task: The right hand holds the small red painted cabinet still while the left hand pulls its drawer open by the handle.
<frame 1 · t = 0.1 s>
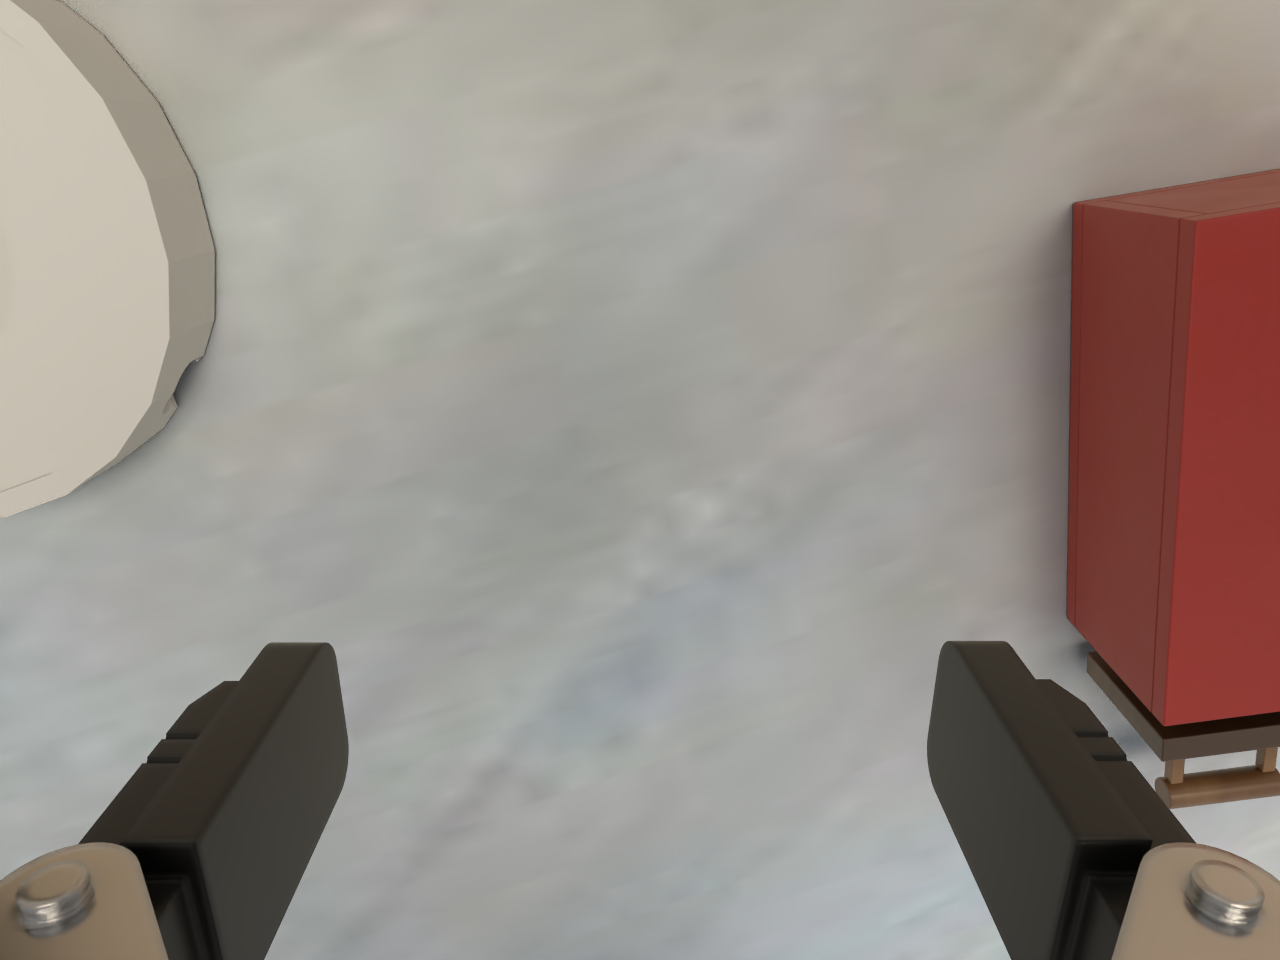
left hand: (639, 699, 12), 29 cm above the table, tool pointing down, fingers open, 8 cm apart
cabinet: (1185, 411, 41), on the table
drawer: (1235, 572, 39), point 4 cm above the table, slide at 1.5 cm
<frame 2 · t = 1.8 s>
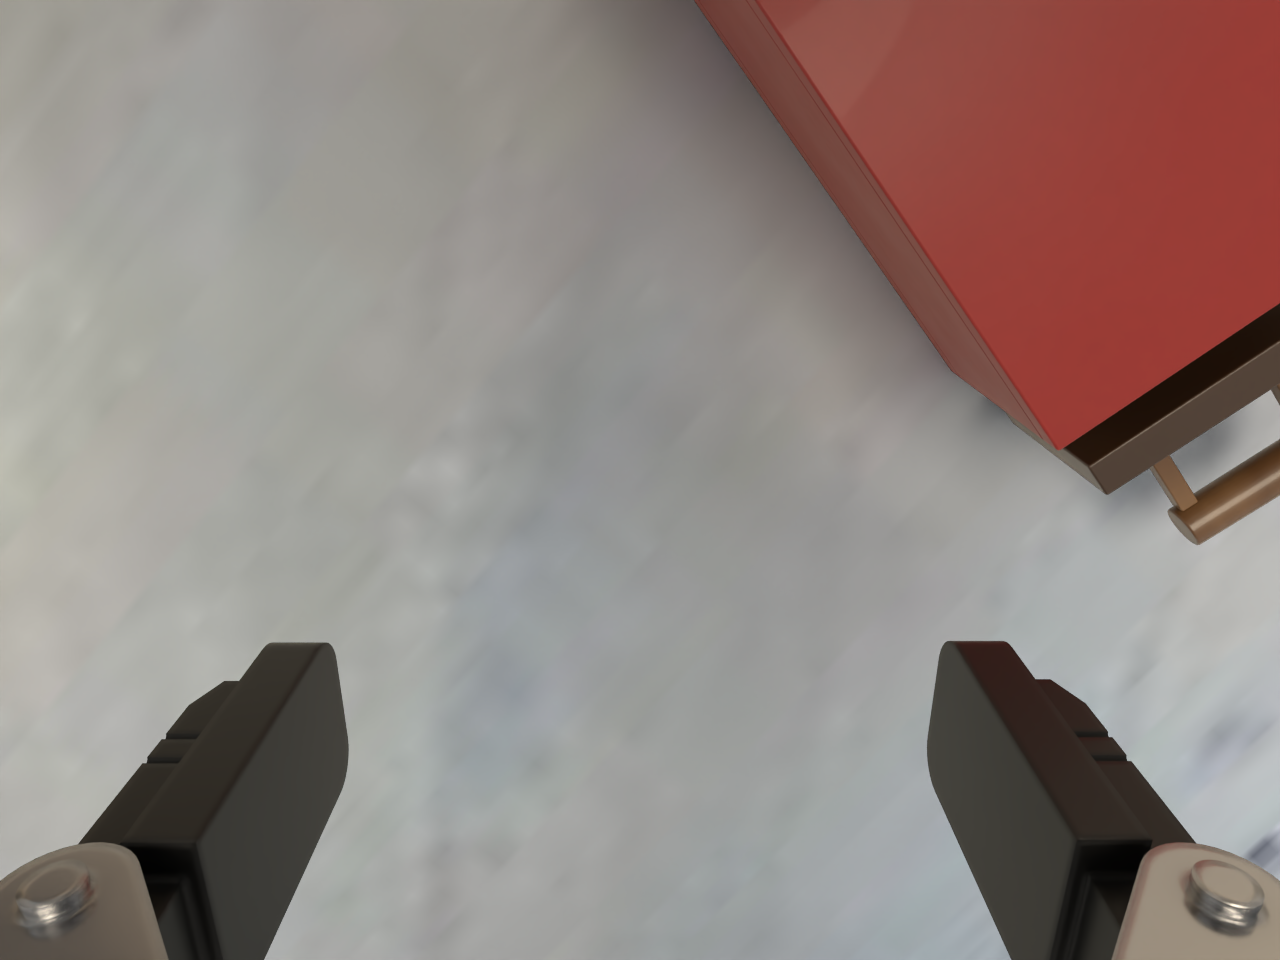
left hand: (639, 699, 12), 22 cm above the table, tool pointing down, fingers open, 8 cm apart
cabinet: (926, 32, 29), on the table
drawer: (1083, 196, 26), point 4 cm above the table, slide at 1.5 cm
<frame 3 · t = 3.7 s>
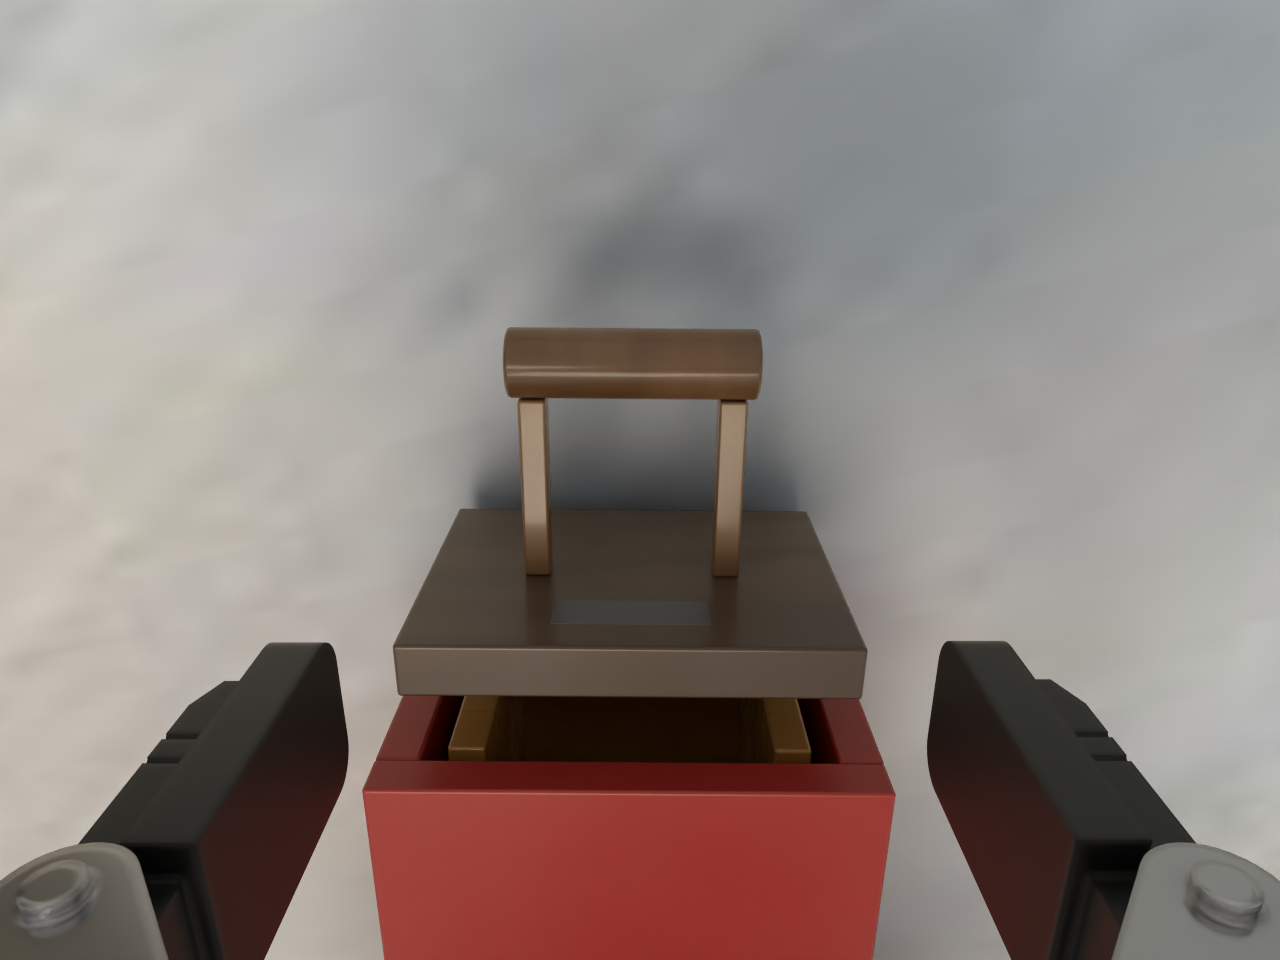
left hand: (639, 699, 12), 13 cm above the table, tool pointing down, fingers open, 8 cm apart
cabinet: (631, 853, 29), on the table, touching right hand
drawer: (630, 799, 23), point 4 cm above the table, slide at 1.5 cm
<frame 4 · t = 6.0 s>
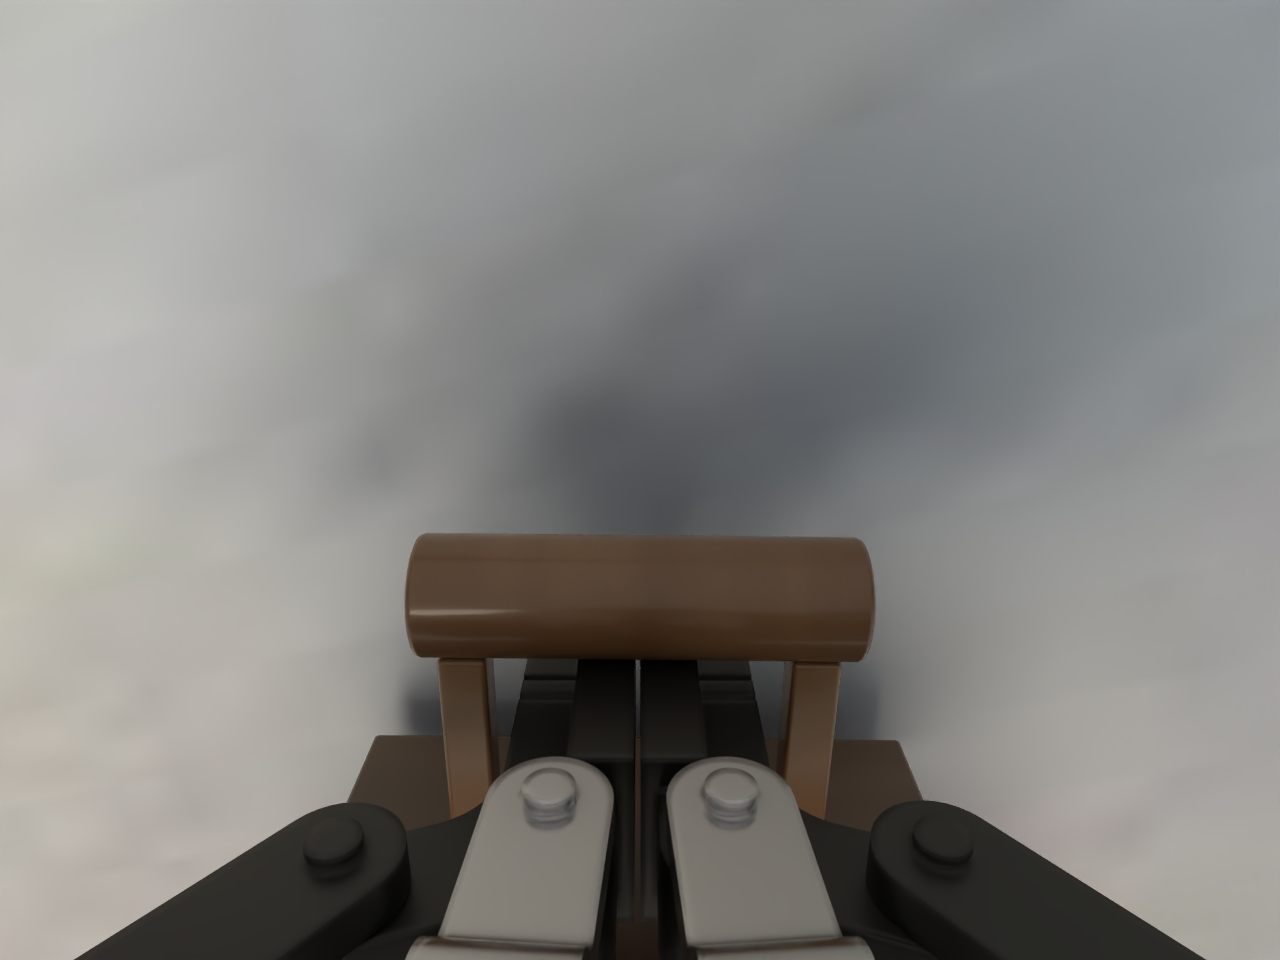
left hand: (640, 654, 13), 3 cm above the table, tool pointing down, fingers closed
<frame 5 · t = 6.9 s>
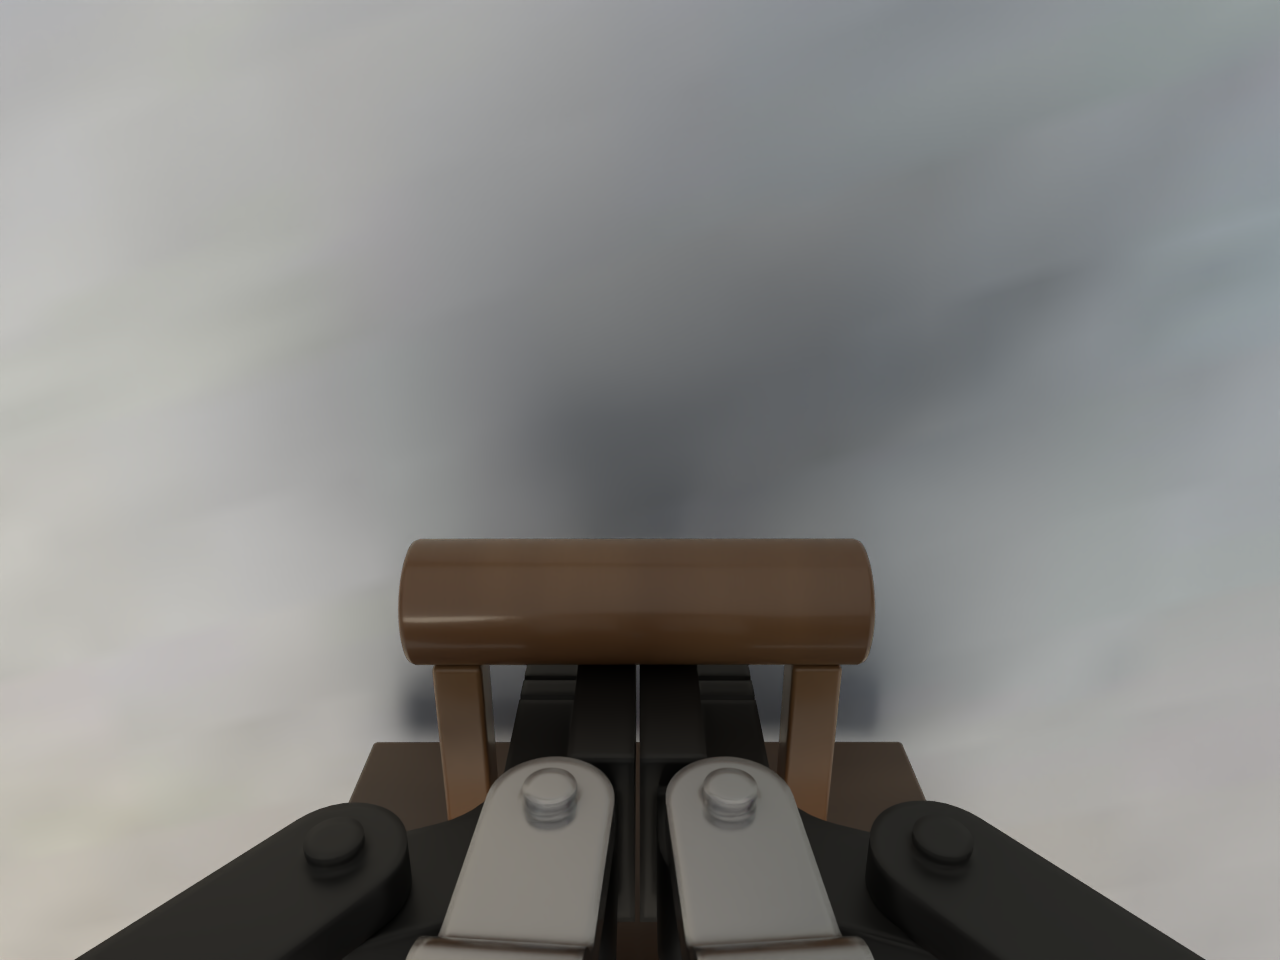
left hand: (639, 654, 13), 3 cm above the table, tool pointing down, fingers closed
when the right hand's fingers open (4 cm above the table, at t = 8.7 s): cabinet stays where it is, on the table.
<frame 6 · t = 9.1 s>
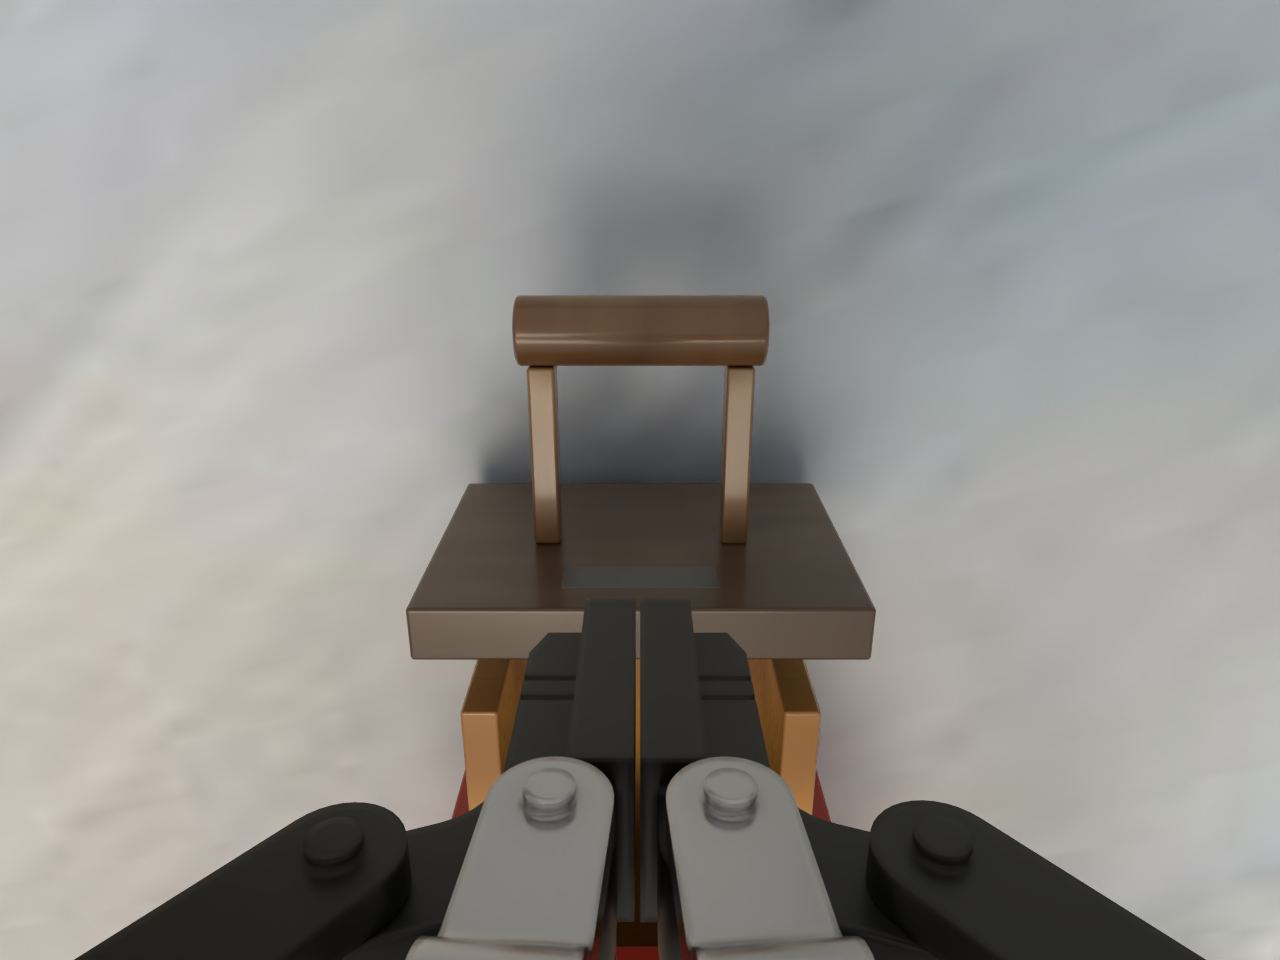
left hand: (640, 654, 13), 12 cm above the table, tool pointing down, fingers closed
drawer: (640, 769, 23), point 4 cm above the table, slide at 7.7 cm
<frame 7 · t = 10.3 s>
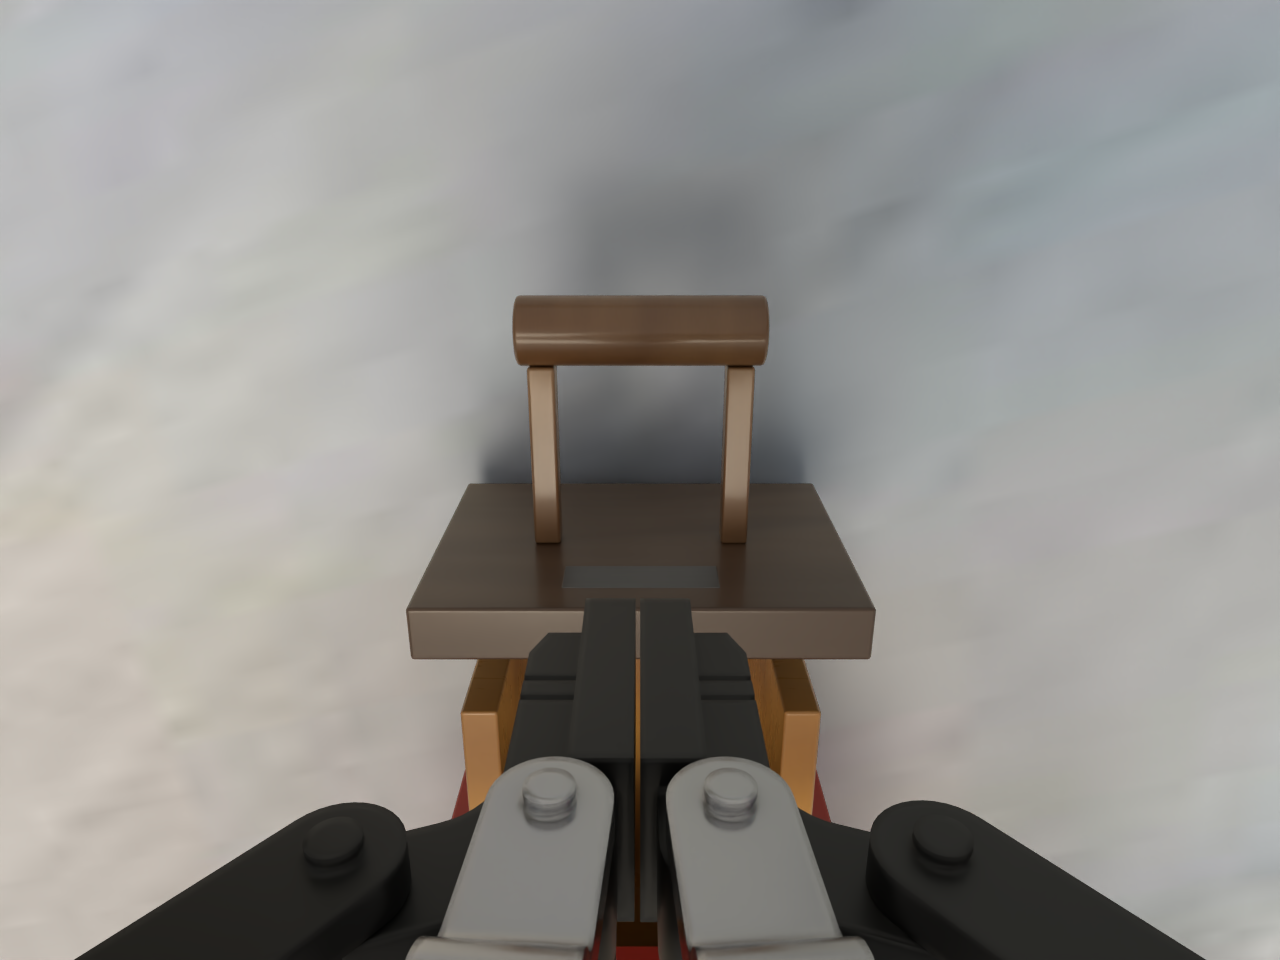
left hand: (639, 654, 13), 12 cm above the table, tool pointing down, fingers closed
drawer: (640, 769, 23), point 4 cm above the table, slide at 7.7 cm
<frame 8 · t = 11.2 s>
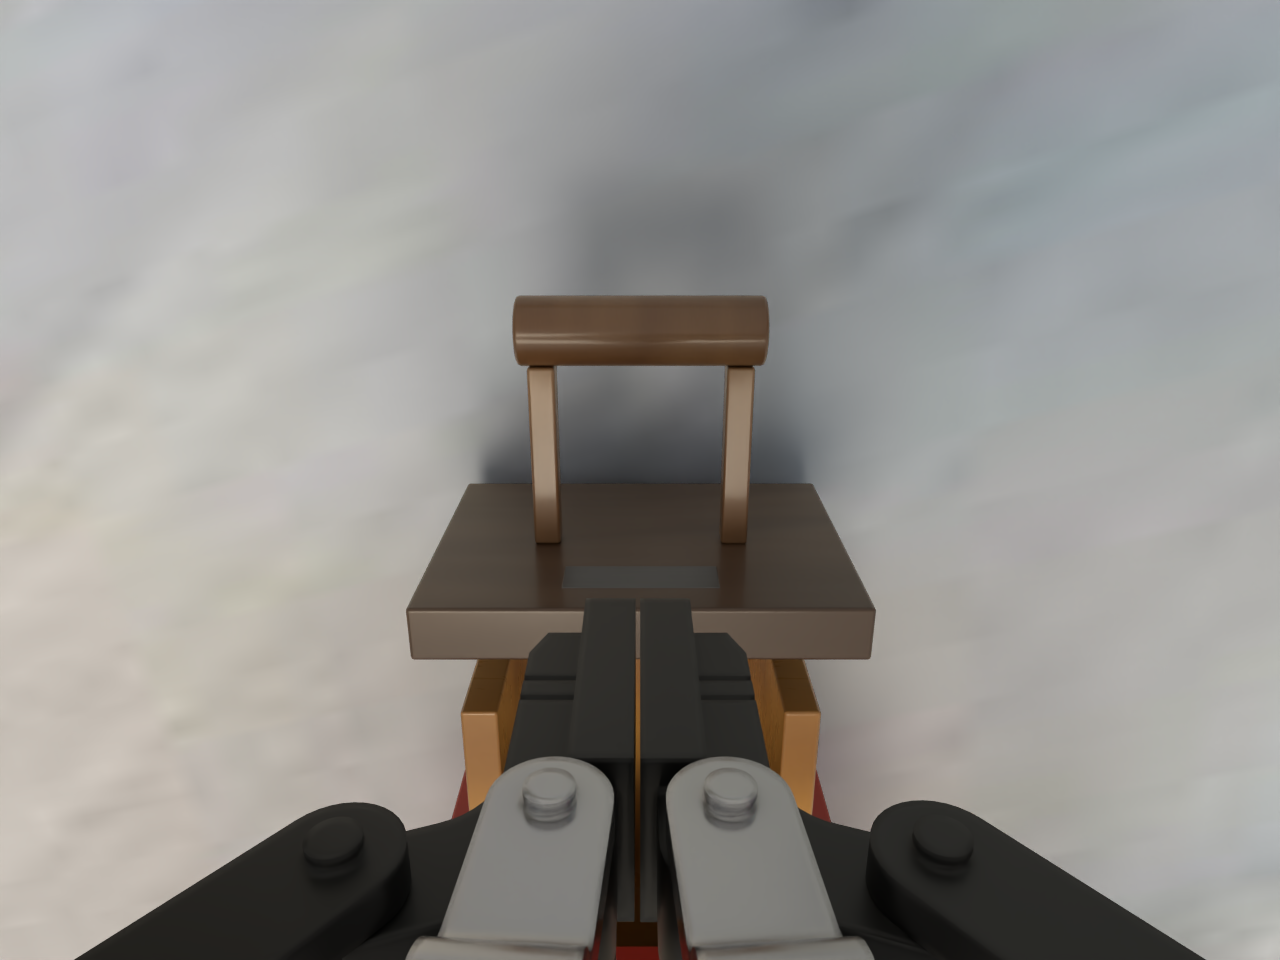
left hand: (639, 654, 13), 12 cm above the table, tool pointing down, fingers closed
drawer: (640, 769, 23), point 4 cm above the table, slide at 7.7 cm
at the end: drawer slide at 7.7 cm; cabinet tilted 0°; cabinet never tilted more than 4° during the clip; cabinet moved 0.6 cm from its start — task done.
